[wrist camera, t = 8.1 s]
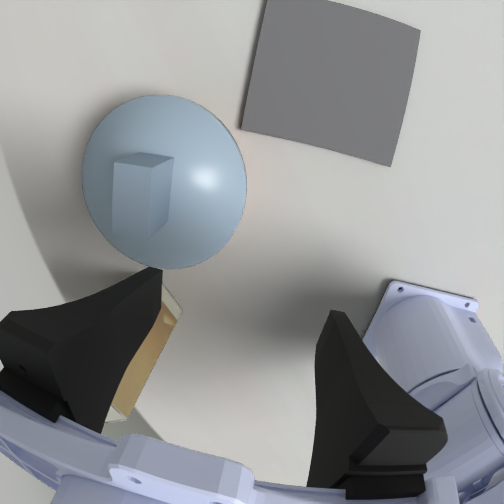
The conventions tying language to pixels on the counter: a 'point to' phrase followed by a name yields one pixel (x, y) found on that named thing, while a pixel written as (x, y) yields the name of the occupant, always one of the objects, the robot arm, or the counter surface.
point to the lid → (164, 181)
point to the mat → (331, 77)
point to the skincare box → (144, 360)
